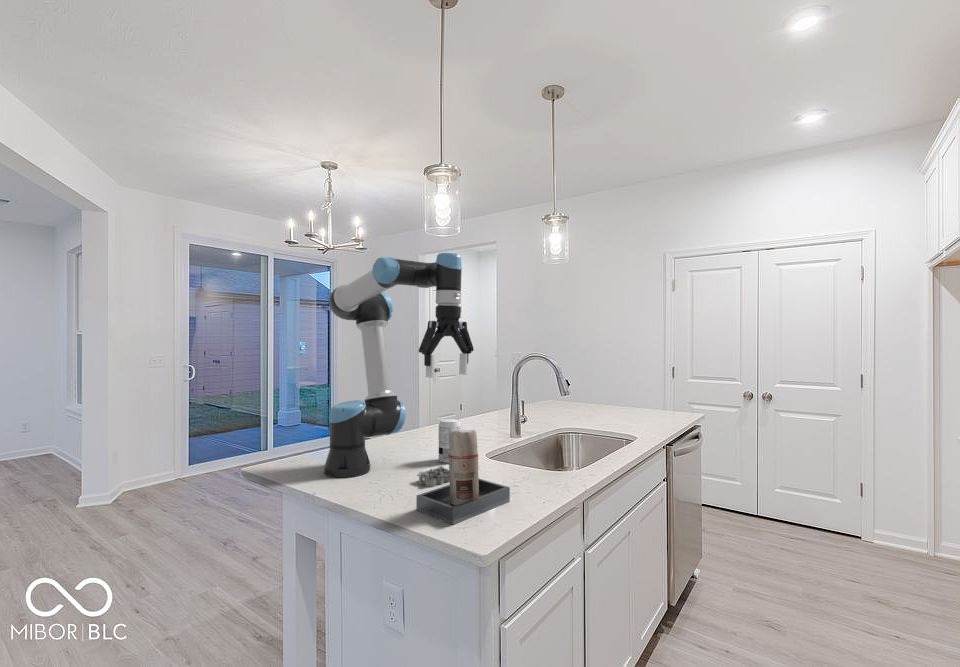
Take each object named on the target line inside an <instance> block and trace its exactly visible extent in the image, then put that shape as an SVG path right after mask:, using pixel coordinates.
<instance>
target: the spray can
mask: <svg viewBox="0 0 960 667" xmlns="http://www.w3.org/2000/svg"><path fill="white" fill-rule="evenodd" d="M477 436H478V435H477V431H476V429H474V428H473V429H461V430H451V431H450V438H449V463H448V470H449V481H450V482H449V485H450V498H451V501H450V503H451V504H453V505H455V506H456V505H459V504H462V503H464V502H467V501H470V500H472V499H475V498H478V497H479V496H478V494H479V481H478V478H479V479H480V477H479V476H480V475H479V451H478V437H477Z"/></svg>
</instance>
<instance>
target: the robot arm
mask: <svg viewBox="0 0 960 667" xmlns="http://www.w3.org/2000/svg"><path fill="white" fill-rule="evenodd" d="M374 262H375V263H373V265H372V269H371V270H370V271H368V272H367V273H365V274H363V275H362V276H360V277H358V278H357V279H355V280H353V281H351V282H350V283H348V284H341V285H339V286H337V287H336V288H335V289H333V290H332V291H331V293H330V294H329V296H328V305H329V308H330V311H331V312H332V313H333V314H334V315H335V316H337V318H339V319H342V320H346V321H355V323H356V324H355V325H356V328H357V329H358V330H360V332H361V340H362V348H363V357H364V358H363V360H364V368H365V376H366V387H367V393H368V394H367V396H366V397H365V398H364V400H360V399H359V400H349V401H347V400H346V401H343V402H339V403H337V404H334V405H333V406H332V407H331V408H330V411H329V412H330V413H329V419H328V421H329V452H328V454H327V456H326V460H325V463H324V466H323V467H324V468H323V469H324V470H323V474H325V475H326V476H327V477H333V478H352V477H357V476H362V475H365V474H367V473H368V472H370V470H371V461H370V458H369V455H368V452H367V448H366V439H367V438H373V437H379V436H388V435H391V434H396V433H397V432H400V430H402V429H403V426H404V425H405V421H406V417H407V416H406V415H407V414H406V412H407V411H406V408H405V405H404V403H403V402H402V401H401V400H399V399H398V395H397V394H396V393H395V392H393V387H392V379H391V370H390V363H389V362H390V360H389V355H388V354H389V353H388V345H387V337H386V330H385V328H386V327H387V326H388V324H389V320H391V318H392V315H393V312H394V306H393V302H392V299H391V297H390V295H389V294H388V293H386V292H385V291H387V290H389V289H392V288H393V287H395V286H399V285H400V286H401V285H402V286H409V287H411V286H412V287H417V288H423V289H424V288H425V289H428V288H434V287H436V288H435V304H436V306H435V318H436V320H429V321H427V329H426V331H425V334H424V335H423V338H422V340H421V344H420V346H419V349H418V353H421V355H423V356H424V359H423V360H424V362H423V363H424V366H425V378H431V379H433V378H434V377H435V355H434V354H433V353H434V351H435V350H436V348H437V346H438V345H439V343H440V342H441V341H442V339H443V338H444V337H451V338H453V340H454V341H455V344H456V345H457V348H458V349H459V350H460V352H461V353H459V362H458V363H459V371H458V372H459V373H458V374H459V375H463V376H467V375H468V364H469V355H471V354H472V352H473V351H475V350H474V346H473V343H472V340H471V336H470V334H469V330H468V323H467V321H459V320H460V319H461V315H462V314H461V311H462V310H461V306H459V305H461V304H462V303H461V301H462V272H463V271H462V269H463V267H462V266H463V264H462V257H461V255H460V254H459V253H455V252H439V253H438V254H437V255H436V259H435V262H425V261H415V260H407V259H399V258H394V257H389V256H388V257H378V258H377V259H375V261H374Z"/></svg>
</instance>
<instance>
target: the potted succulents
mask: <svg viewBox="0 0 960 667" xmlns="http://www.w3.org/2000/svg"><path fill="white" fill-rule="evenodd" d="M416 476H417V477H418V484H419V485H425V487H427V488H434V487H436V485H443V484H444V483H450V481H449V468H448V469H447V468H445V467H443V466H442V465H440V466H439V467H436V468H433V469H432V468H431V469H429V470H426V471H419V472H418V473H417V475H416Z"/></svg>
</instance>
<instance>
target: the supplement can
mask: <svg viewBox="0 0 960 667" xmlns="http://www.w3.org/2000/svg"><path fill="white" fill-rule="evenodd" d="M451 430H462V424H461V422H460V419H457V418H442V419H440V421H439V423H438V460H439V461H440V462H441V463H443V464H449V438H450V431H451Z"/></svg>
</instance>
